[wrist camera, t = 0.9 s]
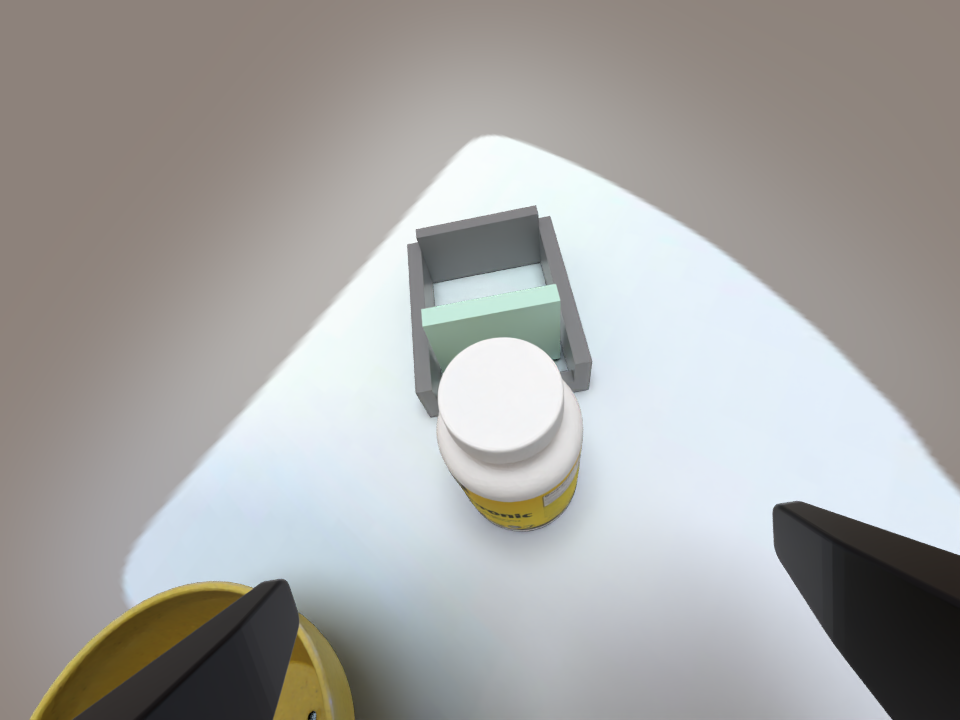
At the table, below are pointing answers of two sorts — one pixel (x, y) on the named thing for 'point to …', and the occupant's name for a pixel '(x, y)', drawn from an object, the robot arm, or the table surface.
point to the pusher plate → (495, 322)
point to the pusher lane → (485, 251)
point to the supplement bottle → (510, 432)
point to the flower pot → (170, 620)
